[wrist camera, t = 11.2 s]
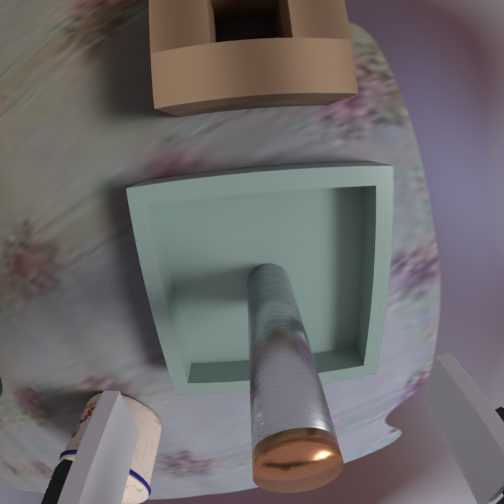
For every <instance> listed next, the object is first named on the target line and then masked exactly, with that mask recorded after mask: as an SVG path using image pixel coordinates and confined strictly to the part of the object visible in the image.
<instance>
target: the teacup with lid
mask: <svg viewBox="0 0 504 504" xmlns="http://www.w3.org/2000/svg"><path fill="white" fill-rule="evenodd" d="M101 395H102V393H100V394H97V395H94V396H93V397H92V398H90V400H89V401H88V403H87V405H86V407H85V409H84V411H83V413H82V416H81V418H80V420H79V422H78V424H77V426H76V428H75V430H74V433H73V435H72V437H71V439H70V441H69V443H68V446H67V448H66V450H65V451H64V452H62V453H61V455H60V462H61V461H62V460H63V459H68V460H72V461H74V458H75V456H76V453H77V451H78V448H79V446H80V443H81V441H82V439H83V436H84V434H85V431H86V429H87V427H88V424H89V422H90V420H91V418H92V415H93V413H94V411H95V408H96V406H97V404H98V402H99V400H100V397H101ZM122 397H123V399H124V402H125V404H126V406H127V408H128V410H129V412H130V414H131V416H132V418H133V420H134V422H135V424H136V426H137V428H138V430H139V431H140V434H139V438H138V441H137V445H136V449H135V452H134V456H133V460H132V463H131V467H130V471H129V475H128V479H127V483H126V487H125V491H124V495H123V499H122V504H138V503H141V502H143V501H145V500H146V499H147V498H148V496H149V495H150V493H151V489H150V486H149V485H150V481H151V476H152V471H153V467H154V462H155V457H156V453H157V449H158V444H159V440H160V435H161V424H160V422H159V420H158V418H157V417H156V415H155V414H154V413H153V412H152V411H151V410H150V409H149V408H147V407H146V406H145V405H143V404H142V403H140V402H138V401H137V400H135V399H132V398H130V397H127V396H125V395H122Z"/></svg>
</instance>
